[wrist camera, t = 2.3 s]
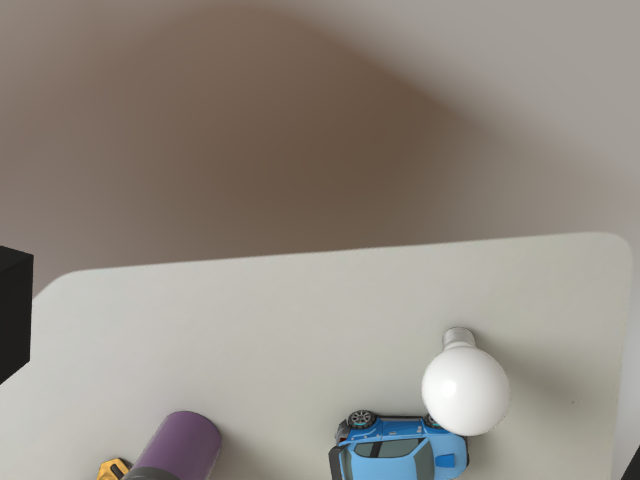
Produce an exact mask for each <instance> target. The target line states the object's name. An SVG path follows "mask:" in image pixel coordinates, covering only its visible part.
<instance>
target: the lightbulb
mask: <svg viewBox="0 0 640 480" xmlns="http://www.w3.org/2000/svg"><path fill="white" fill-rule="evenodd" d="M442 342H443V352H441V353H440V354H438V355H437V356H436V357H435V358H434V359H433V360H432V361H431V362H430V363H429V365H428V366H427V368H426V370H425V372H424V375H423V379H422V398H423V402H424V405H425V407H426V409H427V411H428V413H429V414H430V416H431V417H432V418H433V419H434V421H435V422H436V423H437V424H439V425H440V426H441V427H442V428H444V429H446V430H447V431H449V432H451V433H454V434H457V435H462V436H476V435H481V434H484V433H486V432H489V431H490V430H492V429H494V428H495V427H496V426H497V425H498V424H499V423H500V422H501V421H502V420H503V418H504V417H505V415H506V413H507V411H508V409H509V405H510V400H511V388H510V383H509V380H508V377H507V375H506V373H505V371H504V369H503V368H502V366H501V365H500V364H499V363H498V362H497V360H495V359H494V358H493V357H492V356H491V355H489V354H488V353H486V352H484V351H482V350H480V349H477V348H476V345H475V340H474V336H473V335H472V333H471V332H470V331H469V330H467V329H465V328H462V327H455V328H451V329H449V330H448V331H447V332H446V333H445V334H444V336H443V339H442Z"/></svg>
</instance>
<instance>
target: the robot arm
mask: <svg viewBox="0 0 640 480" xmlns="http://www.w3.org/2000/svg"><path fill="white" fill-rule="evenodd" d="M33 258H34V256H33V255H32V254H28V253H25V252H22V251H18V250H14V249H11V248H8V247H4V246H0V385H1V384H2V383H3V382H4V381H6V380H7V379H8V378H9V377H10V376H12V375H13V374H14V373H15V372H17V371H18V370H19V369H20V368H22V367H23V366H24V365H25V364H26V363H28V362H29V361H30V340H31V313H32V283H33ZM621 480H640V446H639V448H638V450H637V451H636V453H635V455H634V457H633V458H632V460H631V462H630V464H629V466H628V467H627V469H626V471H625V473H624V475H623V477H622V478H621Z"/></svg>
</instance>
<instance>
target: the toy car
mask: <svg viewBox="0 0 640 480" xmlns="http://www.w3.org/2000/svg"><path fill="white" fill-rule="evenodd" d="M374 418H375V417H374V415H373V414H372V413H371V412H369V411H364V410H363V411H361V410H360V411H357V412H354V413H352V415H350V416H349V418H348V424H349V425H347V421H346V419H345V420H344V421H343V422H341V423H340V424H339V428H338V432H336V433H335V438H336V446H335V447H333V448H332V449H331V450H330V452H329V462H330V468H331V474H332V480H342V476H343V479H344V480H448V479H452V478H456V477H458V476H459V475H460V474H461V473H462V472H463V471H464V470H465V468H466V467H467V466H468V465H469V462H470V460H469V453H468V436H462V435H457V434H454V433H451V432H449V431H447V430H446V429H444V428H442V427H441V426H440V425H439V424H437V423H436V422H435V421H434V419H433V418H432V417H431V416H430V414H428V415H427V416H426V417H425V423H424V421H423V417H420V416H377V420H376V422H375V419H374ZM340 467H341V469H340ZM341 471H342V475H341Z"/></svg>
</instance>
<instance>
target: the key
mask: <svg viewBox="0 0 640 480" xmlns="http://www.w3.org/2000/svg"><path fill="white" fill-rule="evenodd" d="M114 464H116V465H117V467H118V468H119V469H120V470H121V471H122V473H123V474H124V475H125V474H126V473H127V472H129V471H130V469H129V468H128V467H127V465H126V464H125V463H124V462H123V461H122V459H120V458H117V459H113V460H110V461H107V462H104V463H102V464H101V466H100V469H99V473H98V476H97V479H96V480H120V479H119V477H118V476H117V475H116V474H115V473H114V471H113V470H112V466H113V465H114Z"/></svg>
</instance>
